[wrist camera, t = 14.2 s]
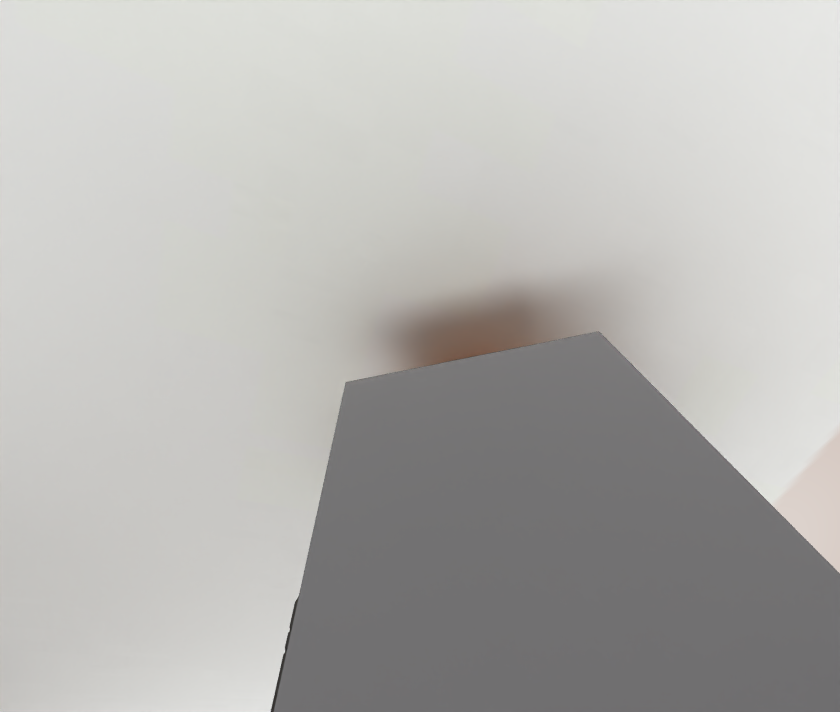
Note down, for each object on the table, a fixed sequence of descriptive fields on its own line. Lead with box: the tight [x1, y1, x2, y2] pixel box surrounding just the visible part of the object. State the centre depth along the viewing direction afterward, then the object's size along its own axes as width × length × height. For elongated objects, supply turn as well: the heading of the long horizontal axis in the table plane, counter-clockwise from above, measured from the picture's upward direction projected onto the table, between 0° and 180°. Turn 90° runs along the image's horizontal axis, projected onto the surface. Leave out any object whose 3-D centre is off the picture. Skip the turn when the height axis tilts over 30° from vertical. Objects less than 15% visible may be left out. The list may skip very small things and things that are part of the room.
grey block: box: [274, 332, 840, 712], centre depth 10 cm, size 7×7×9 cm
